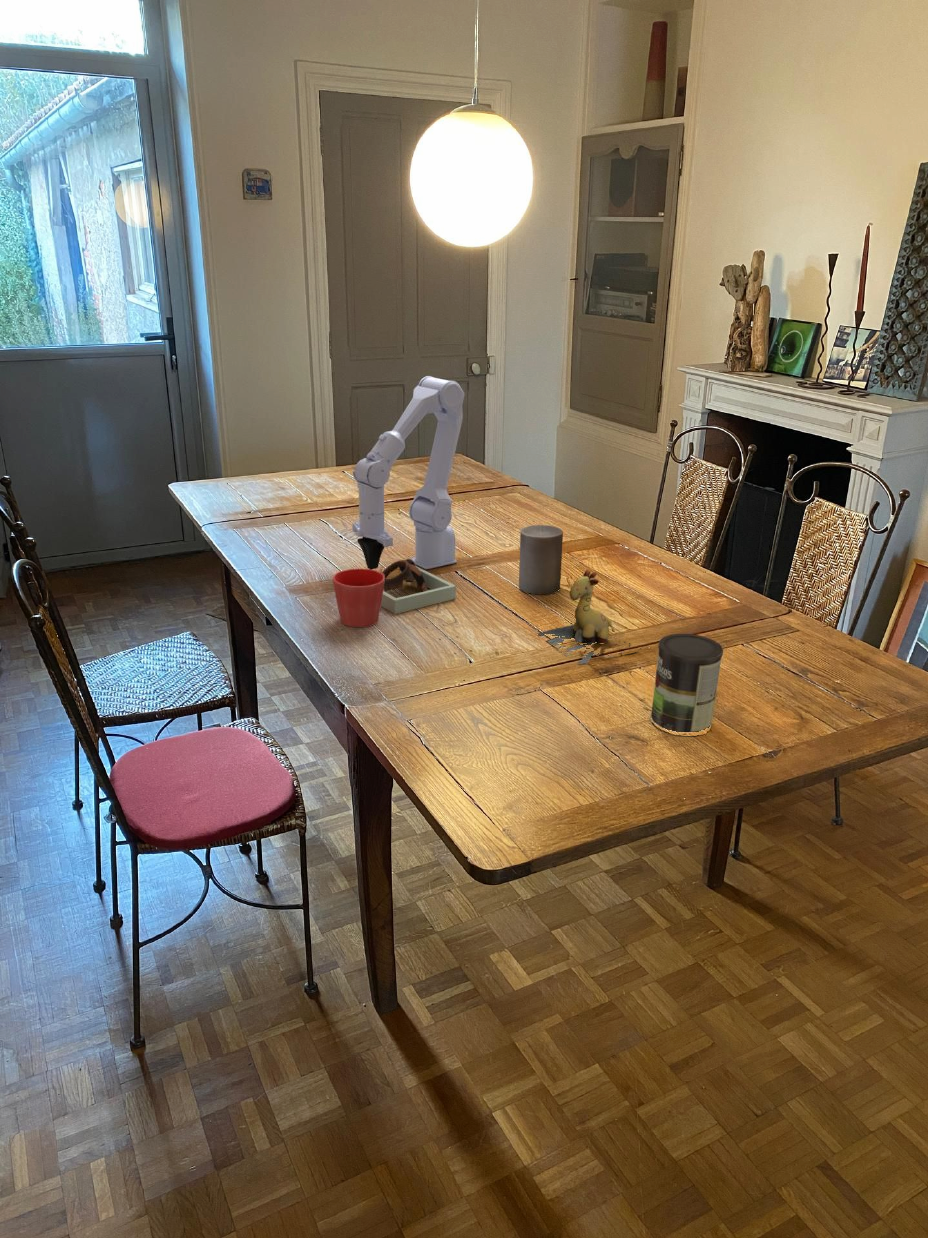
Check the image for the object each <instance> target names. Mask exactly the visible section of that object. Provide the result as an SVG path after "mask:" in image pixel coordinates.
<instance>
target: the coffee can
mask: <svg viewBox="0 0 928 1238" xmlns="http://www.w3.org/2000/svg"><path fill="white" fill-rule="evenodd" d="M657 647H658V652H657V653H658V654H657V662H656V670H655V678H654V679H655V680H654V687H653V688H654V690H653V698H652V706H651V714H650V717H651V718H652V720H653V722H654V723H656V724H657V725H659V726H660V727H662V728H665V729H667V730H672V731H676V732H699V731H701V730H705V729H706V728H709V727H710V725H711V724H712V725H713V719H714V718H713V717H714V711H715V704H716V703H715V702H716V696H717V690H718V684H719V676H720V669H721V663H722V657H723V654H724V648H723V646H722V645H721V644H720V643H719V642H718V641H716V640H713V639H711V638H709V637H706V636H702V635H700V634H699V635H698V634H694V633H693V634H692V633H675V634H673V633H672V634H668V635H665V636H664V637H662V638H660V640H659V641H658V646H657Z"/></svg>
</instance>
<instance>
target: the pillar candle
mask: <svg viewBox="0 0 928 1238" xmlns="http://www.w3.org/2000/svg"><path fill="white" fill-rule="evenodd" d="M519 534H520V535H519V537H520V538H519V564H518V565H519V566H518V567H519V568H518V588H519V590H521V591H522V590H523V591H522V592H523V593H526V592H527V593H526V594H529V593H531V594H530V595H535V594H538V595H539V596H540V595H541V594H546V595H551V594H556V593H558V592H559V591H560V590H561V578H562V560H563V543H564V541H563V540H564V538H563V537H564V532H563V530H562V529H561V528H559V527H557V526H555V525H554V526H553V525H548V524H534V525H526V526H524V527H522V528H520V531H519ZM559 589H560V590H559ZM558 590H559V591H558ZM555 592H556V593H555ZM538 595H537V596H538ZM541 596H542V595H541Z"/></svg>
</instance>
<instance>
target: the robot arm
mask: <svg viewBox="0 0 928 1238" xmlns="http://www.w3.org/2000/svg"><path fill="white" fill-rule="evenodd" d="M465 395H466V394H465V392H464V390H463V388H462V387H461V385H460V383H458V382H457V381H455V380H447V379H442V378H437V377H434V376H431V375H427V376H424V377H423V378H421V379H420V380H419V382H418V385H416V386H415V387H414V388H413V394H412V398H411V400H410V402H409V404H408V405H407V407H406V408H405V410H404V411H403V413H402V414H401V416H400V418H399V419H398V421H397V422H396V423H395V425H394V427H393V429H392V430H389V431H384V432H383V433H382V434H380V435H379V437H378V438H377V439H378V440H377V442H376V443H375V444H374V446H373V447H372V449H371V450H370V452H368V454H366V457H365V458H363V459H360V460H359V461H358V462H357V463H356V465H355V466H354V470H352V477H353V479H354V480H355V481H356V483H357V489H358V519H359V520H358V521H359V522H358V521H357V522H353V523H352V524H351V525H352V526H351V527H352V529H351V530H352V532H353V533H355V536H357V537H358V538H357V544H358V545H359V547H360V549H361V551H362V554H363V557H364V560H365V564H366V567H367V568H366V569H370V570H376V569H378V568H379V565H380V560H381V557H382V554H383V551H384V549H385V548H388V547H393V546H394V544H393V543H394V541H393V540H394V538H393V536H391V535H390V534H389V533H388V531H387V530H386V529H385V485H386V484H387V483H388V482H389V480H390V475H391V474H390V473H391V470H392V467H393V465H394V464H395V462H396V461H397V459H398V458H399V457H400V456H401V454H402V453H403V451H404V450H405V449H406V443H405V442H406V441H405V440H406V439H407V438H408V436H409V435H410V434H411V433H412V432H413V430H414V429H415V428H416V426H417V425H419V423H420V422H421V421H422V419H424V418H425V416H427V414H428V415H429V414H433V415H435V418H436V419H437V426H436V429H435V434H434V438H433V443H432V448H431V452H430V456H429V462H428V466H427V469H426V470H427V471H426V475H425V480H424V484H423V486H421V487H420V488H419V489H418V490H416V491H415V494H414V498H413V500H412V501H411V502H410V505H409V508H408V515H409V518H410V519H411V520H412V521H413V526H415V528H414V530H415V531H414V532H415V533H414V538H415V539H414V541H415V543H414V545H415V547H414V550H415V551H414V555H415V556H414V557H410V558H408V559H411V560H412V561H413V562H414V563H415V566H417V567H419V568H421V569H423V570H430V569H435V568H439V567H443V566H447V565H452V564H456V563H457V562H458V560H456V534H455V531H454V529H453V527H452V526H451V525H450V524H451V521H452V517H453V513H452V504H453V500H452V499H451V497H450V495H449V493H448V491H447V489H448V485H449V481H450V476H451V474H452V473H451V472H452V467H453V463H454V458H455V455H456V450H457V445H458V441H459V437H460V433H461V429H462V428H461V427H462V424H463V419H464V413H463V403H464V399H465Z"/></svg>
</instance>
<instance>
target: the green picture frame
mask: <svg viewBox="0 0 928 1238" xmlns="http://www.w3.org/2000/svg"><path fill="white" fill-rule="evenodd" d="M415 566H416V567H417V568H418V569H419V570H420V571H421V573H422V575H423V577H424V580H425V582H426V587H427V588H429V590H427V591H425V592H423V591H422V592H416V593H413V594H409V595H408V594H407V595H405V596H400V597H397V598H396V597H394V596H393V595H392V594H389V593H388V592H386V591H384V590H383V595H382V601H381V607H383V609H385V610H388V611H389V612H391V613H392V614H395V615H396V614H400V613H404V612H407V611H412V610H416V609H419V608H420V609H421V608H423V607H428V606H431V605H435V604H440V603H444V602H448V601H453V600H456V598H457V594H456V593H457V586H456V585H455V584H453V583H451V582H448V581H447V580H445V579H443V578H441V577H438V576H437V575H435V574H433V573H431V572H429V571H426V569H424V568H422V567H420V566H418V565H415ZM414 582H416V580H415V581H414Z"/></svg>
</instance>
